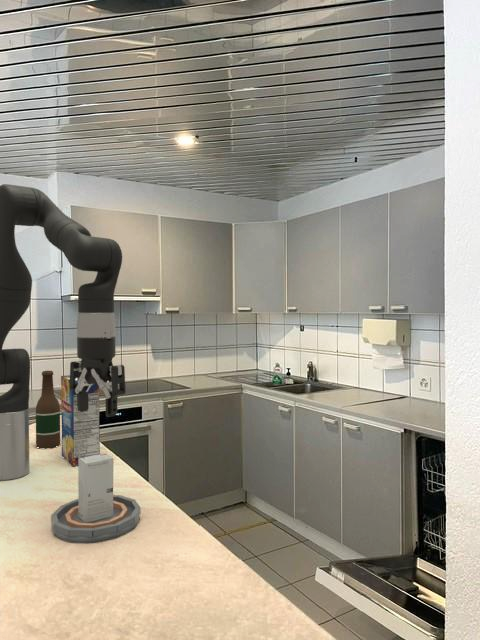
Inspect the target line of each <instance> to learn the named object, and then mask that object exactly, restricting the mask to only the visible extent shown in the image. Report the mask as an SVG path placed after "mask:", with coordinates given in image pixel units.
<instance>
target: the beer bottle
mask: <svg viewBox="0 0 480 640" xmlns="http://www.w3.org/2000/svg"><path fill="white" fill-rule="evenodd" d="M53 375H54V371H53V370H44V371H41V377H42V381H41V383H42V384H41V396H40V397H39V399H38V401H37V404H36V405H35V445H36V448H37V447H39V448H38V449H40V448H50V449H54V448H53V447H55V448H57V447H56V446H58V447H60V446H61V406H60V403H59V400H58V398H57V397H56V395H55V391H54V377H53ZM59 445H60V446H59Z"/></svg>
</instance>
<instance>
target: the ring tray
mask: <svg viewBox="0 0 480 640" xmlns="http://www.w3.org/2000/svg"><path fill="white" fill-rule="evenodd" d="M141 510H142V509H141V506H140V504H139V503H138V501H137V500H136V499H134V498H131V497H128V496H124V495H120V494H113V516H111V517H108V518H104V519H100V520H96V521H92V522H88V523H84V522H83V521H82V520H81V519H80V517H79V516H78V498H77V499H74V500H71V501H69V502H65V503H64V504H61V505H60V506H59V507H58V508H56V510H54V511H53V513H52V514H50V522H51V525H52V528H51V530H52V531H51V532H52V533H53V535H54V536H55V537H56V538H58V539H59V540H62V541H64V542H67V543H76V544H89V543H90V544H91V543H100V542H103V541H108V540H113V539H116V538H119V537H122V536H124V535H126V534H128V533H129V532H131V531H132V530H133V529H135V527H136V526H137V525H138V524H139V521H140V516H141Z"/></svg>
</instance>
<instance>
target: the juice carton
mask: <svg viewBox="0 0 480 640" xmlns="http://www.w3.org/2000/svg"><path fill="white" fill-rule="evenodd" d="M75 383H77V378H76V379H75ZM60 387H61V388H60V391H61V392H60V395H61V397H60V400H61V402H60V404H61V406H60V417H61V457H62V456H63V457H64V458H63V457H62V458H63V459H64V460H65V459H66V460H67V461H68V462H69V463H70V464H71V467H73V468H75V467H76V466H77V467H79V461H78V459H79V458H83V457H88V456H93V455H100V454H101V453H100V450H101V447H100V445H101V443H100V442H101V441H100V440H101V439H100V437H101V436H100V434H101V433H100V430H101V429H100V426H101V425H100V387H99V385H94V384H92V385H91V386H90V388H89V390H88V392H86V393H88V410H87V411H83V412H80V411H78V407H77V394H76V392H75V390H71V389H70V374H69V375H61V376H60ZM66 460H65V461H66ZM67 461H66V462H67ZM68 462H67V463H68ZM69 463H68V464H69ZM70 464H69V465H70Z"/></svg>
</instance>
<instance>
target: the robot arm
mask: <svg viewBox="0 0 480 640" xmlns="http://www.w3.org/2000/svg"><path fill="white" fill-rule="evenodd" d="M16 226H21V227H39V228H43V233H44V236H45V238H46V239H47V241H48V242H49V243H50V244H51V245H52V246H54V247H55V248H56V249H58V250H59V251H60V252H62V253H63V254H64V256H65V258H66V259H67V261H68V263H69V265H71V267H73V268H75V269H77V270H79V271H83V272H94V273H95V272H96V276H95V278H94V280H93V282H89V283H83V284H82V285H80V286H79V288H78V292H77V300H78V302H77V303H78V304H77V305H78V307H77V308H78V309H77V310H78V311H77V312H78V313H77V314H78V315H77V322H76V342H77V343H76V355H77V358H78V359H79V360H78V361H77V360H75V361H70V364H69V366H70V367H69V375H70V389H71V390H75V392H76V394H77V407H78V411H80V412H83V411H87V410H88V393H86V392H88V390H89V388H90V386H91V385H92V384H94V385H99V390H102V392H103V393H104V395H105V397H106V398H105V417H107V418H112V417H115V416H117V413H118V397H120V396H124V395H125V394H126V392H127V391H126V374H125V373H126V371H125V370H126V369H125V365H123V364H116V365H114V364H113V359H114V358H115V357H116V320H115V319H116V318H115V300H114V299H115V296H114V295H115V292H116V291H115V290H116V288H117V284H118V279H119V274H120V272H121V268H122V263H123V252H122V249H121V246H120V245H119V243H118V242H117V241H116V240H114V239H112V238H107V237H106V238H105V237H99V236H92V234H91V232H90V230H88V229H87V228H86V227H85V226H84V225H82V224H81V223H79V222H77V221H76V220H74V219H72V218H70V217H69V216H68V215H67V214H65V213H64V212H63V211H62V210H61V209H60V208H59V207H58V206H57V205H56V204H55V203H54V202H53V201H52V199H50V197H48V195H46V194H45V193H44V192H43V191H42V190H40V189H38V188H36V187H32V186H31V187H30V186H29V187H28V186H23V185H14V184H7V183H5V184H1V185H0V386H1V385H12V386H11V388H10V389H9V390H7V391H6V392H5V393H3V394H1V395H0V481H7V480H15V479H18V478H22V477H24V476H27V475H28V474H29V473H30V415H29V414H30V412H29V411H30V410H29V409H30V407H29V406H30V405H29V402H30V384H31V383H30V379H31V378H30V377H31V359H30V355H29V352H28V351H27V349H25V348H4V349H3V347H4V344H5V341H6V338H7V336H8V335H9V333H10V332H11V330H12V329H13V327H14V326H15V325H17V323H18V322H19V320H20V319H22V317H23V316H24V314H25V313H26V312H27V310H28V309H29V308H30V304H31V299H32V298H31V297H32V288H33V277H32V274H31V272H30V270H29V268H28V267H27V264H26V263H25V261H24V259H23V258H22V256H21V254H20V251H19V250H18V247H17V244H16V236H15V235H16V233H15V232H16V231H15V229H16ZM76 378H77V383H75V379H76Z"/></svg>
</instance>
